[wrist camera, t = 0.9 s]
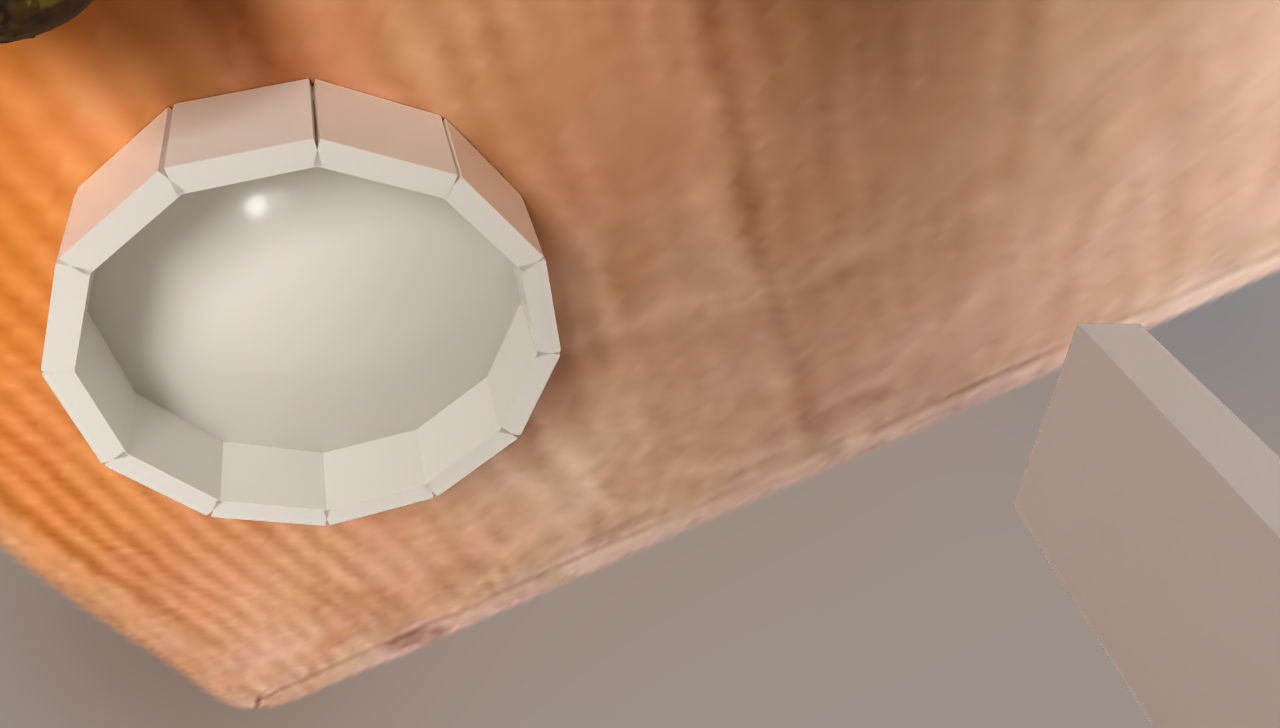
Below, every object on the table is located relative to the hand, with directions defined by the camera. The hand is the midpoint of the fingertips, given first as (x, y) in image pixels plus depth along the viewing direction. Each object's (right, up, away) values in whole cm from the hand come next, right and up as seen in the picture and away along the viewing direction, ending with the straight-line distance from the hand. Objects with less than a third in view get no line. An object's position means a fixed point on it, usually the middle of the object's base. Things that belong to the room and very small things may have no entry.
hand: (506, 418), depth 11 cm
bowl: (-12, +4, +29) cm, 31 cm away
